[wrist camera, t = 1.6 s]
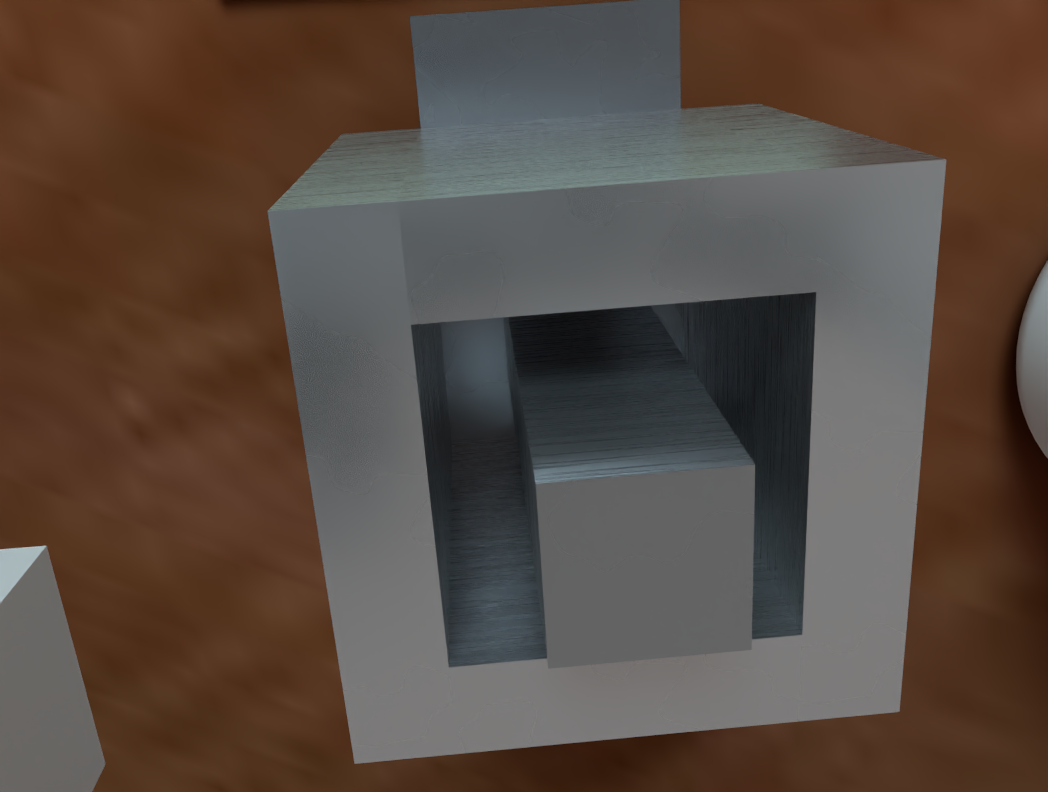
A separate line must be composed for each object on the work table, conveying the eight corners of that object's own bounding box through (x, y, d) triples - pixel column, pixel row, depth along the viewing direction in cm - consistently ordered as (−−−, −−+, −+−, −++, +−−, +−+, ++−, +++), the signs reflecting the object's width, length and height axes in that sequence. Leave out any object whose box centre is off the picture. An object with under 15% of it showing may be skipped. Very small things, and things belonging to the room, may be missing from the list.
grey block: (464, 484, 27) (472, 976, 13) (419, 15, 23) (360, 17, 9) (646, 469, 28) (840, 939, 14) (635, 1, 23) (902, -20, 9)
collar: (389, 508, 22) (354, 763, 14) (342, 134, 19) (267, 211, 12) (750, 477, 22) (899, 711, 15) (757, 103, 19) (945, 159, 12)
